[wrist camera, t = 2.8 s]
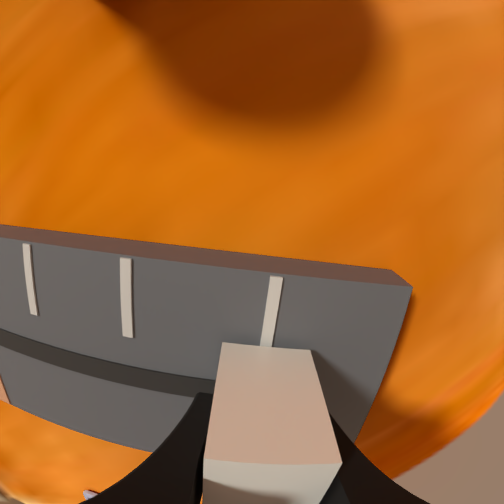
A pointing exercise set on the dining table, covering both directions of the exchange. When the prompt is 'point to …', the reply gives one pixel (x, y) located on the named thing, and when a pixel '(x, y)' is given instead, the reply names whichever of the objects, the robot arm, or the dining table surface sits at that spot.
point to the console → (177, 328)
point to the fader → (268, 429)
